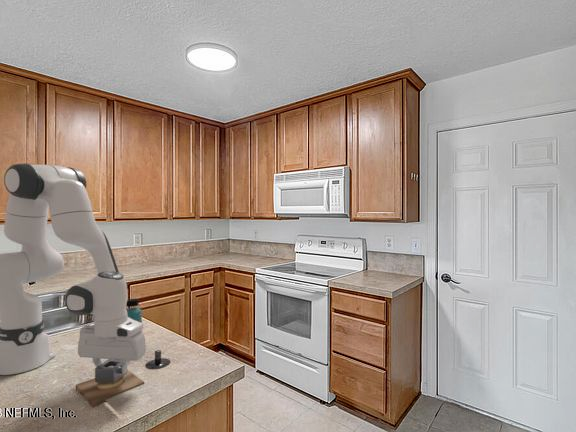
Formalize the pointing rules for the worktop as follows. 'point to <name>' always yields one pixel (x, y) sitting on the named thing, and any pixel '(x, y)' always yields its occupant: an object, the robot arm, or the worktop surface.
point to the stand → (157, 361)
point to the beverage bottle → (134, 310)
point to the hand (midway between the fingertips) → (111, 372)
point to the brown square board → (107, 388)
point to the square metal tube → (109, 371)
